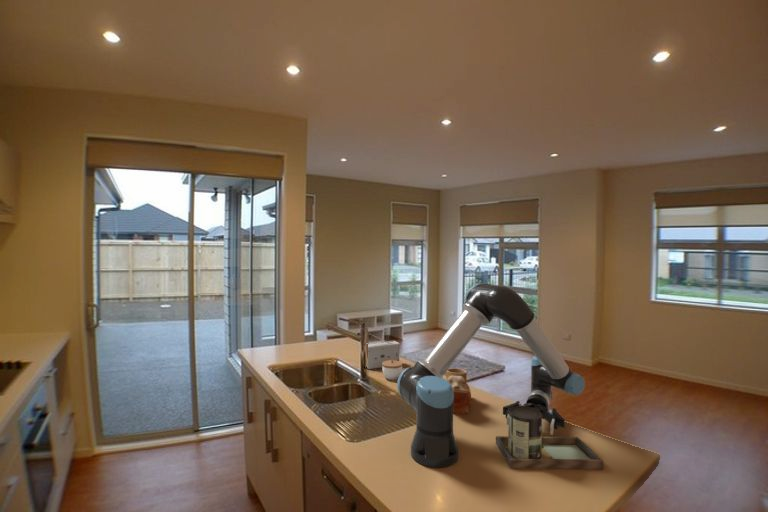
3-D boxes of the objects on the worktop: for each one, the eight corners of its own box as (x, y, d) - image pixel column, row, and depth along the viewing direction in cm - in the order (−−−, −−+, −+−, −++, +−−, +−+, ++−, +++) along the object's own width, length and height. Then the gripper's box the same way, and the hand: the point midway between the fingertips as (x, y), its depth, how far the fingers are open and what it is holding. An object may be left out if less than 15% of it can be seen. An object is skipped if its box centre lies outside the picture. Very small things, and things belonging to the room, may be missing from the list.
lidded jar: (383, 374, 198) (383, 356, 198) (403, 375, 197) (403, 357, 197) (380, 380, 188) (380, 362, 188) (401, 382, 186) (401, 363, 186)
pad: (559, 466, 113) (559, 465, 113) (541, 445, 126) (541, 444, 126) (597, 467, 113) (597, 466, 113) (576, 446, 126) (576, 445, 126)
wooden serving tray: (510, 468, 112) (510, 460, 112) (495, 443, 127) (495, 436, 127) (603, 469, 112) (603, 461, 112) (577, 444, 127) (577, 437, 127)
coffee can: (538, 449, 123) (538, 406, 123) (545, 466, 113) (545, 420, 113) (505, 445, 125) (506, 404, 125) (509, 462, 115) (510, 417, 115)
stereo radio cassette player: (394, 362, 221) (394, 328, 220) (400, 366, 213) (401, 331, 213) (361, 366, 212) (362, 331, 211) (367, 370, 204) (367, 334, 204)
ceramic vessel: (437, 417, 147) (437, 379, 147) (439, 392, 173) (439, 360, 173) (473, 420, 144) (473, 381, 144) (469, 395, 170) (470, 362, 170)
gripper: (574, 420, 136) (570, 446, 117) (503, 406, 148) (490, 427, 129) (574, 400, 136) (571, 423, 117) (504, 387, 148) (491, 406, 129)
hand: (529, 425), depth 123 cm, fingers open, 13 cm apart
